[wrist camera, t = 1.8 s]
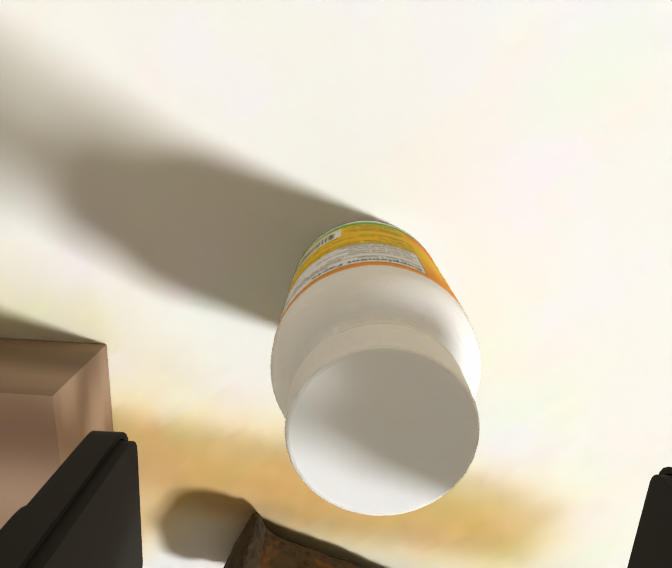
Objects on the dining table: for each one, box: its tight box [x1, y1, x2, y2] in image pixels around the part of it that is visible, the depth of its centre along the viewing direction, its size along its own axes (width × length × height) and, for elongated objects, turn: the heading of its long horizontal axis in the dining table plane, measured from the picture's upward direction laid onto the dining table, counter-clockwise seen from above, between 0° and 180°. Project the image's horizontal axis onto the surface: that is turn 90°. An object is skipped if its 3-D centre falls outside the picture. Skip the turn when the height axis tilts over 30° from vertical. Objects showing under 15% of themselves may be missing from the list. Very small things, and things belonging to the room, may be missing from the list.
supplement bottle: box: [271, 221, 481, 516], centre depth 15 cm, size 5×5×10 cm
